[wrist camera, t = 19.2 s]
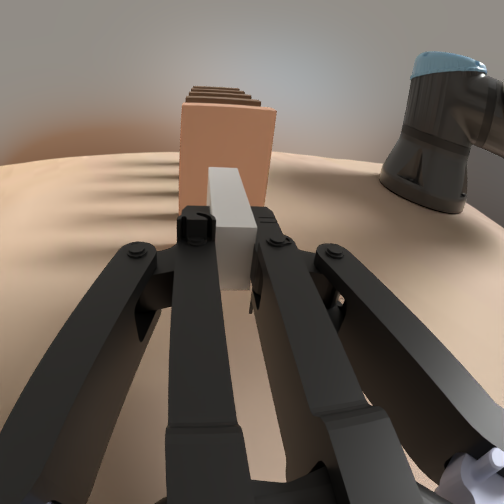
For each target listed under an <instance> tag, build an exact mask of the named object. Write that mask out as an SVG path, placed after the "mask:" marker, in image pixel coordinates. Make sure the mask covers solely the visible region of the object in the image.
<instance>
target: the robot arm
mask: <svg viewBox="0 0 504 504" xmlns="http://www.w3.org/2000/svg"><path fill="white" fill-rule="evenodd" d="M486 74H487V70H486V66H485V65H484V64H483V63H481V62H479V61H476V60H474V59H471V58H469V57H466V56H462V55H457V54H453V53H446V52H435V51H434V52H424V53H421V54H420V55H418V56H417V58H416V59H415V63H414V68H413V72H412V76H411V77H410V80H411V85H410V90H409V96H408V102H407V107H406V112H405V116H404V121H403V126H402V131H401V135H400V138H399V139H398V141H397V143H396V145H395V146H394V148H393V149H392V151H391V153H390V154H389V156H388V158H387V159H386V161H385V162H384V164H383V166H382V169H381V173H380V177H379V180H380V181H381V183H382V184H383V185H384V186H386V187H387V188H388V189H390V190H391V191H393V192H395V193H396V194H398V195H400V196H402V197H404V198H406V199H408V200H410V201H413V202H415V203H417V204H420V205H423V206H425V207H428V208H431V209H435V210H438V211H442V212H447V213H460V212H462V211H463V208H464V206H465V203H466V199H467V161H468V156H469V153H470V149H471V146H472V145H475V146H477V147H480V148H482V149H484V150H487V151H489V152H491V153H493V154H495V155H498V156H499V157H502V158H503V159H504V82H501V81H499V80H497V79H494V78H492V77H489V76H487V75H486ZM250 281H251V283H252V294H251V302H250V309H249V314H252V310H254V315H255V319H256V324H257V328H258V333H259V338H260V342H261V347H262V351H263V356H264V361H265V365H266V370H267V374H268V379H269V383H270V388H271V392H272V397H273V401H274V406H275V410H276V415H277V419H278V424H279V428H280V432H281V437H282V441H283V446H284V450H285V455H286V481H287V483H278V482H268V481H258V480H251V478H250V472H249V466H248V460H247V454H246V448H245V442H244V437H243V432H242V429H241V426H239V425H238V422H237V417H236V411H235V404H234V397H233V390H232V382H231V375H230V367H229V359H228V352H227V344H226V336H225V327H224V319H223V310H222V302H221V293H220V290H249V289H250ZM340 294H341V295H342V296H343V297H344V299H345V301H344V303H343V305H342V304H341V303H340V302H339V301H338V299H339V296H340ZM167 307H172V310H171V328H170V350H169V387H168V426H167V428H166V434H165V457H166V487H167V496H166V497H164V498H162V499H161V500H159V501H158V502H156V503H155V504H504V409H503V408H502V407H501V406H499V405H498V404H496V403H495V402H494V401H493V400H492V398H491V397H490V396H489V395H488V394H487V393H486V391H485V390H484V389H483V388H482V387H481V386H480V384H479V383H478V382H477V381H476V380H475V379H474V378H473V377H472V375H471V374H470V373H469V372H468V371H467V370H466V369H465V368H464V367H463V365H462V364H461V363H460V362H459V361H458V360H457V359H456V358H455V357H454V356H453V355H452V353H451V352H450V351H449V350H448V349H447V348H446V347H445V346H444V345H443V344H442V343H441V342H440V341H439V340H438V339H437V337H436V336H435V335H434V334H433V333H432V332H431V331H430V330H429V329H428V328H427V327H426V326H425V325H424V324H423V323H422V322H421V321H420V320H419V319H418V318H417V317H416V316H415V315H414V314H413V313H412V312H411V311H410V310H409V309H408V308H407V307H406V306H405V305H404V304H403V303H402V302H401V301H400V300H399V299H398V298H397V297H396V296H395V295H394V294H393V293H392V292H391V291H390V290H389V289H388V288H387V287H386V286H385V285H384V284H383V283H382V282H381V281H380V280H379V279H378V278H377V277H376V276H375V275H374V274H373V273H371V272H370V271H369V270H368V269H367V268H366V267H365V266H364V265H363V264H362V263H361V262H360V261H359V260H358V259H357V258H356V257H355V256H353V255H352V254H351V253H350V252H349V251H348V250H346V249H345V248H344V247H341V246H339V245H337V244H332V243H330V244H321V245H319V246H318V247H317V250H316V253H311V252H306V251H302V250H299V249H298V248H297V246H296V244H295V242H294V241H293V240H292V239H291V238H289V237H288V236H286V235H283V233H282V231H281V229H280V227H279V225H278V223H277V220H276V219H275V216H274V214H273V212H272V211H271V210H270V209H268V208H267V207H259V206H250V204H249V201H248V198H247V195H246V192H245V189H244V186H243V183H242V180H241V178H240V175H239V172H238V169H237V168H225V167H209V168H208V185H207V205H206V206H190V205H187V206H186V207H185V208H184V209H183V210H182V213H181V215H179V216H178V218H177V244H176V245H174V246H173V247H171V248H169V249H166V250H162V251H156V249H155V247H154V246H153V245H151V244H150V243H146V242H132V243H129V244H126V245H124V246H123V247H121V248H120V249H119V250H118V252H117V253H116V254H115V255H114V257H113V258H112V259H111V261H110V262H109V263H108V265H107V266H106V267H105V268H104V270H103V271H102V272H101V274H100V275H99V276H98V278H97V279H96V280H95V282H94V283H93V284H92V286H91V287H90V289H89V290H88V291H87V293H86V294H85V295H84V297H83V298H82V300H81V301H80V302H79V304H78V305H77V307H76V308H75V310H74V311H73V312H72V314H71V315H70V317H69V318H68V320H67V321H66V323H65V324H64V326H63V327H62V329H61V330H60V332H59V333H58V335H57V336H56V338H55V339H54V341H53V342H52V344H51V345H50V347H49V348H48V350H47V352H46V353H45V355H44V356H43V358H42V360H41V361H40V363H39V364H38V366H37V368H36V369H35V371H34V373H33V374H32V376H31V378H30V379H29V381H28V383H27V385H26V386H25V388H24V390H23V391H22V393H21V395H20V397H19V399H18V400H17V402H16V404H15V406H14V408H13V409H12V411H11V413H10V415H9V417H8V419H7V421H6V423H5V425H4V427H3V429H2V430H1V432H0V504H86V503H87V501H88V498H89V496H90V493H91V491H92V488H93V485H94V482H95V479H96V476H97V473H98V470H99V468H100V465H101V462H102V459H103V456H104V453H105V451H106V448H107V445H108V442H109V440H110V437H111V434H112V432H113V429H114V426H115V424H116V421H117V418H118V416H119V413H120V411H121V408H122V406H123V403H124V401H125V398H126V395H127V393H128V390H129V388H130V385H131V383H132V381H133V378H134V376H135V373H136V371H137V368H138V366H139V364H140V361H141V359H142V356H143V354H144V352H145V349H146V347H147V345H148V342H149V340H150V338H151V335H152V333H153V331H154V328H155V326H156V324H157V322H158V319H159V317H160V315H161V309H163V308H167ZM362 391H363V392H362ZM363 393H364V394H365V395H366V397H367V398H368V399H369V401H370V402H371V404H372V405H373V406H371V405H370V404H368V402H367V401H366V399H365V397H364V394H363ZM401 445H402V446H403V448H404V449H405V451H406V452H407V453H408V455H409V456H410V457H411V459H412V460H413V461H414V462H415V464H416V465H417V466H418V467H419V469H420V470H421V471H422V472H423V473H425V474H426V475H427V476H428V477H429V478H430V479H431V480H432V481H434V482H435V483H436V484H438V485H439V486H438V487H437V488H436V489H435V492H433V491H431V490H429V489H428V488H426V487H424V486H423V485H421V484H420V483H418V482H416V481H415V478H414V476H413V473H412V471H411V468H410V466H409V463H408V461H407V458H406V456H405V453H404V451H403V449H402V446H401Z"/></svg>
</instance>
